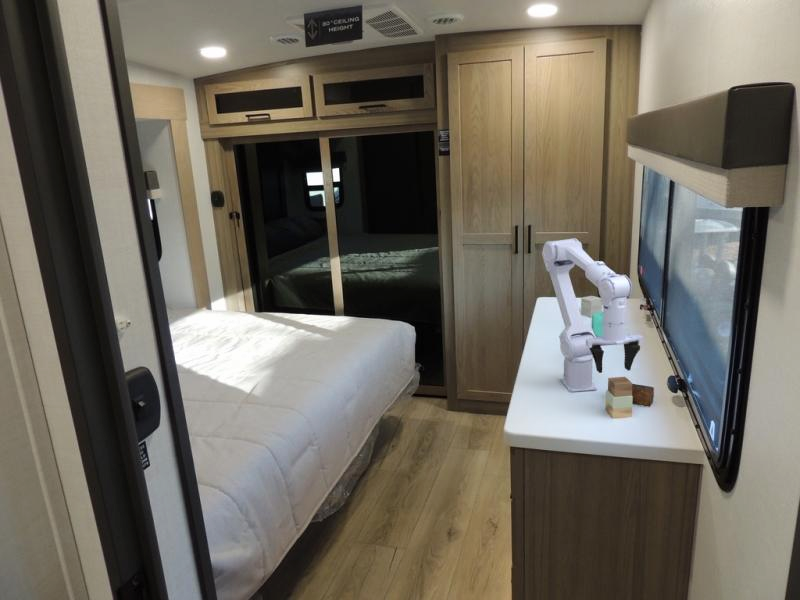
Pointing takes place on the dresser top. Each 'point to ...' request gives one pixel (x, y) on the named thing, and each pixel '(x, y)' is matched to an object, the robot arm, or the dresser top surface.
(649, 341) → the dresser top surface
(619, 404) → the sage block
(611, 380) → the walnut block
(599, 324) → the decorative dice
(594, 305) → the product box
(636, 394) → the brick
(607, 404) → the oak block
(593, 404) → the dresser top surface
